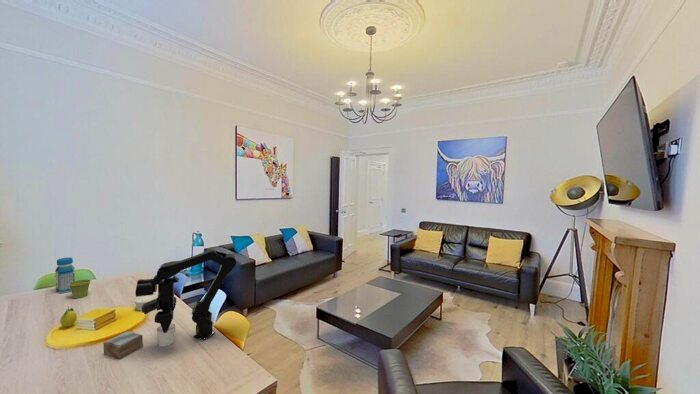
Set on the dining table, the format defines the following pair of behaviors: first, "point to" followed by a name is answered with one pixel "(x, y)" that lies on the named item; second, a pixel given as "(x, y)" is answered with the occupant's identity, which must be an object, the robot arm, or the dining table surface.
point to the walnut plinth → (123, 345)
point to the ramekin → (144, 300)
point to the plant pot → (80, 288)
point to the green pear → (68, 317)
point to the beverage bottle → (64, 275)
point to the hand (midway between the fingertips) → (166, 327)
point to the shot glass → (166, 335)
